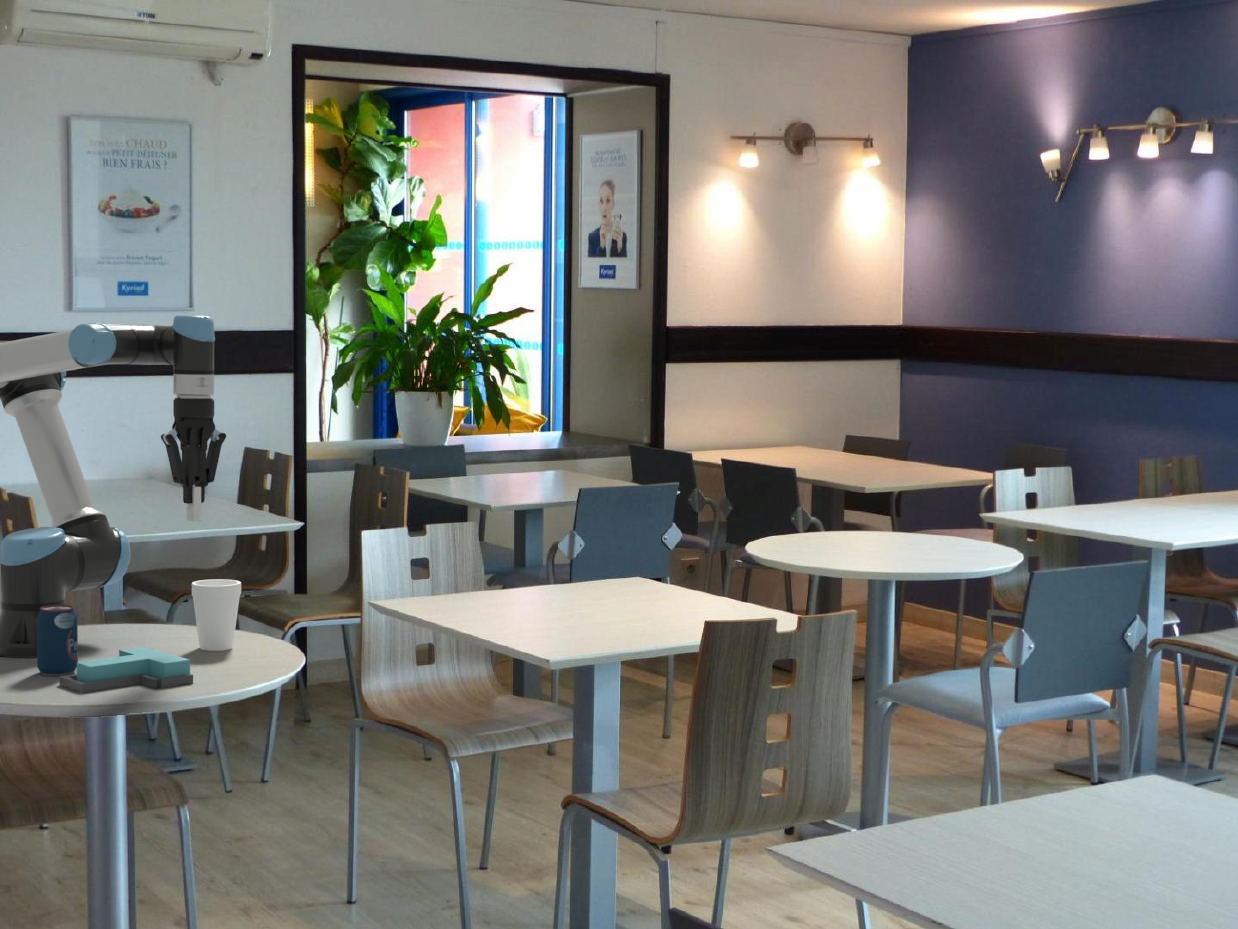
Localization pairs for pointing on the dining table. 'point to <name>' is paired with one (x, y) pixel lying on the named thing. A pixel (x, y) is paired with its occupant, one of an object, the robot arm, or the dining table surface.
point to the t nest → (123, 682)
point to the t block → (134, 665)
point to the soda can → (57, 640)
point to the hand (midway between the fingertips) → (193, 520)
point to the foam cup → (216, 612)
